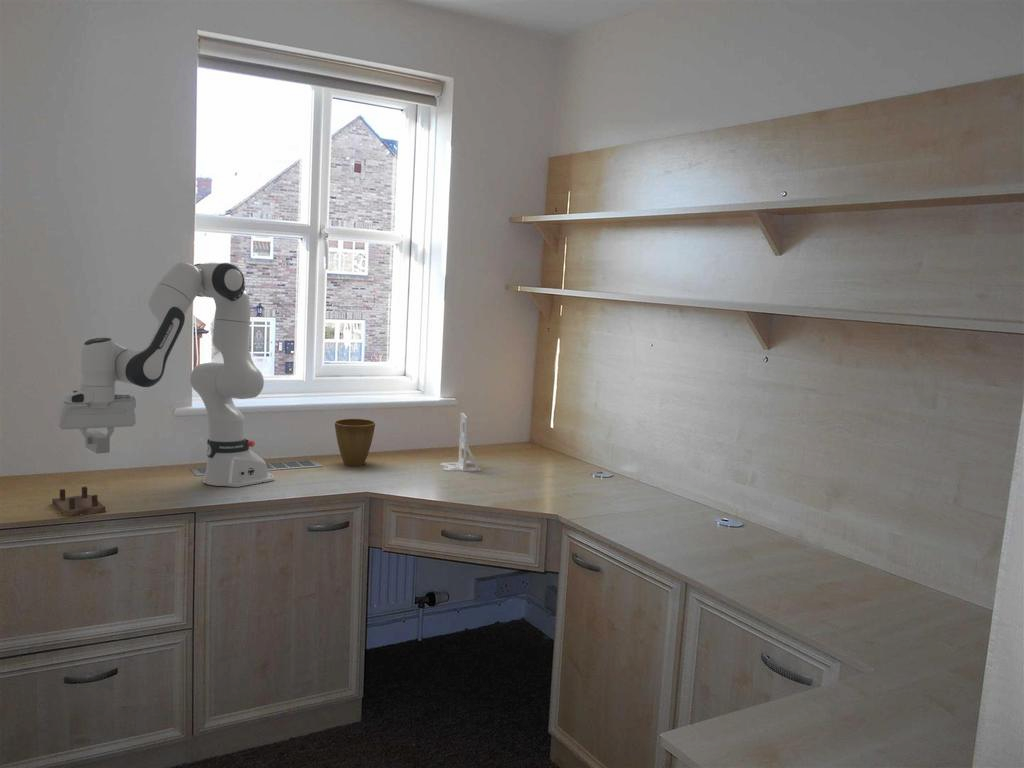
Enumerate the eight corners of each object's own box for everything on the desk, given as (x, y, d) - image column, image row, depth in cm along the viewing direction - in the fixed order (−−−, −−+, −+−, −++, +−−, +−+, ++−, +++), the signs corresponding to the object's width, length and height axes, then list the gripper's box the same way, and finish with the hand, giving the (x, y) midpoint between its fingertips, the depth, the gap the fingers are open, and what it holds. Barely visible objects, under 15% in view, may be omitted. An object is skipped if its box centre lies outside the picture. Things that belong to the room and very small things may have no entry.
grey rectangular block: (97, 445, 245) (97, 431, 244) (109, 452, 236) (109, 437, 235) (85, 446, 243) (85, 431, 242) (96, 453, 234) (96, 437, 233)
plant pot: (328, 461, 315) (329, 419, 313) (366, 459, 322) (367, 418, 320) (340, 469, 302) (341, 425, 300) (379, 467, 309) (380, 424, 307)
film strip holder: (439, 463, 321) (441, 411, 319) (475, 463, 324) (477, 412, 322) (443, 471, 307) (445, 417, 305) (481, 471, 310) (483, 418, 308)
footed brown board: (90, 499, 247) (90, 484, 247) (105, 512, 235) (105, 496, 235) (52, 503, 241) (52, 488, 240) (65, 517, 229) (65, 500, 228)
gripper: (132, 393, 247) (131, 439, 248) (55, 394, 234) (54, 443, 235) (139, 395, 242) (138, 442, 244) (60, 397, 229) (60, 447, 230)
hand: (96, 443), depth 239 cm, fingers closed on grey rectangular block, 3 cm apart
